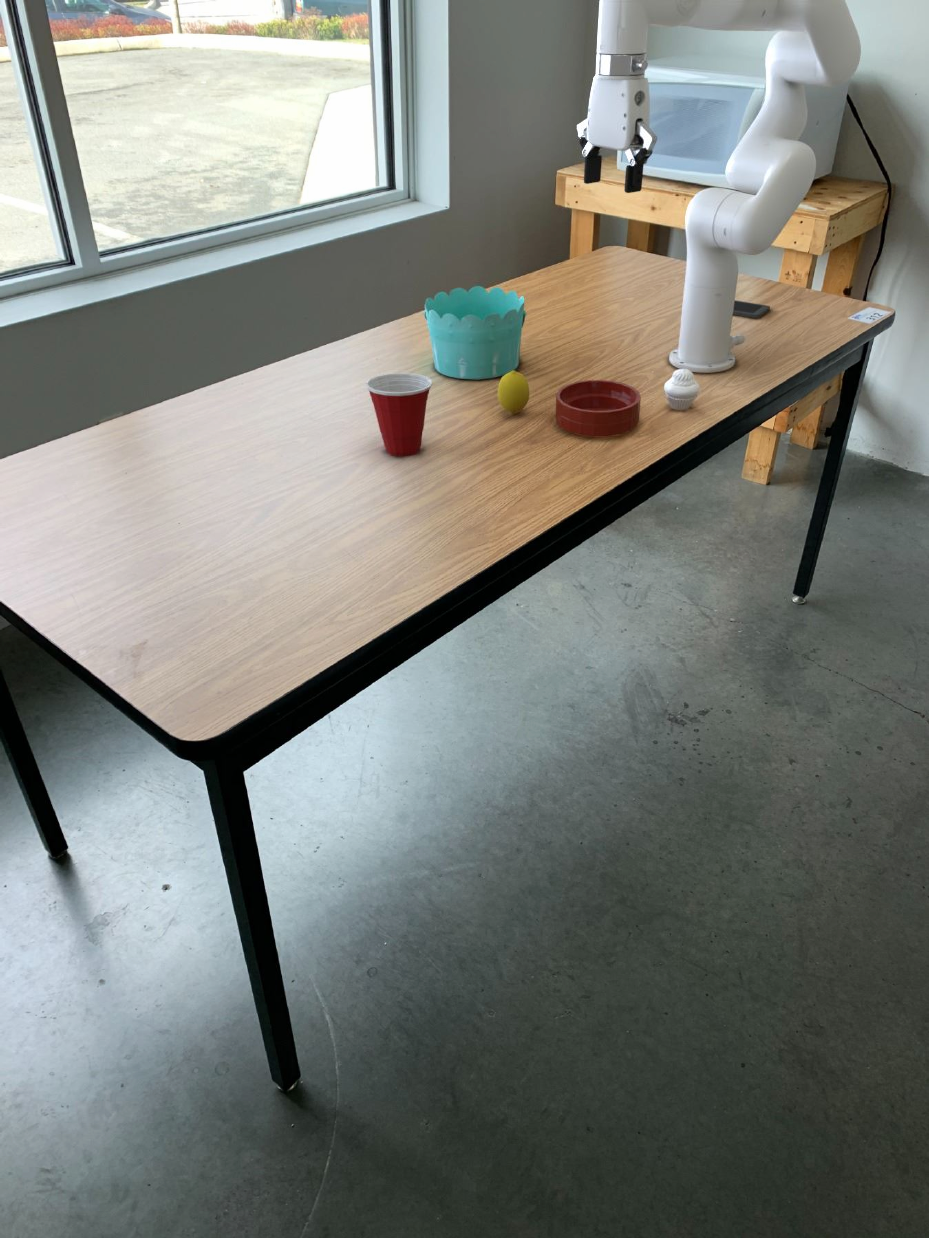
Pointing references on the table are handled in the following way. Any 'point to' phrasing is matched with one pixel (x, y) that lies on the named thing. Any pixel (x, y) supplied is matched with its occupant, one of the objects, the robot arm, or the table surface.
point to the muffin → (681, 389)
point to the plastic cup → (400, 410)
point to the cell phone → (749, 309)
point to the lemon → (513, 392)
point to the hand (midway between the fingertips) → (611, 187)
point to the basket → (475, 332)
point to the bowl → (597, 408)
